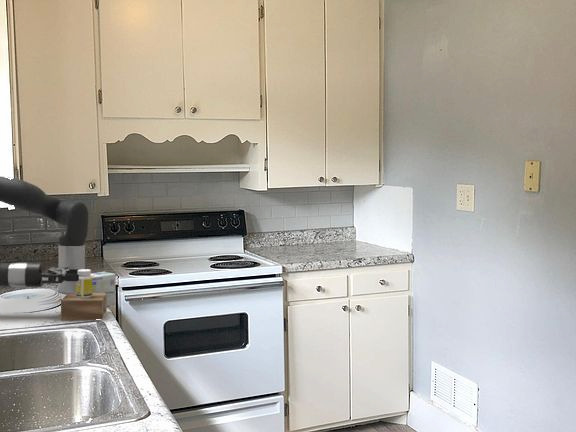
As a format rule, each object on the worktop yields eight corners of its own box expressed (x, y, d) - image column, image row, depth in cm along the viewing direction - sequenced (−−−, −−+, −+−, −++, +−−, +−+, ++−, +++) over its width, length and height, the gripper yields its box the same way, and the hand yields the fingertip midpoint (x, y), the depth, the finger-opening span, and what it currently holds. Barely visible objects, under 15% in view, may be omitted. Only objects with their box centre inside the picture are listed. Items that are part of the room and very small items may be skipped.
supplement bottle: (93, 295, 206) (94, 269, 206) (89, 298, 202) (90, 271, 201) (78, 295, 206) (78, 268, 206) (74, 298, 202) (74, 271, 201)
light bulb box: (104, 302, 225) (104, 271, 224) (116, 305, 221) (116, 273, 220) (76, 306, 217) (77, 274, 216) (88, 310, 213) (89, 277, 212)
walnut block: (67, 311, 210) (67, 292, 209) (106, 311, 212) (106, 292, 211) (60, 320, 198) (61, 300, 197) (101, 320, 200) (102, 300, 199)
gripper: (20, 266, 193) (77, 267, 196) (31, 259, 207) (84, 259, 210) (20, 291, 194) (77, 291, 197) (31, 282, 208) (84, 282, 211)
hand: (81, 275), depth 203 cm, fingers open, 8 cm apart
